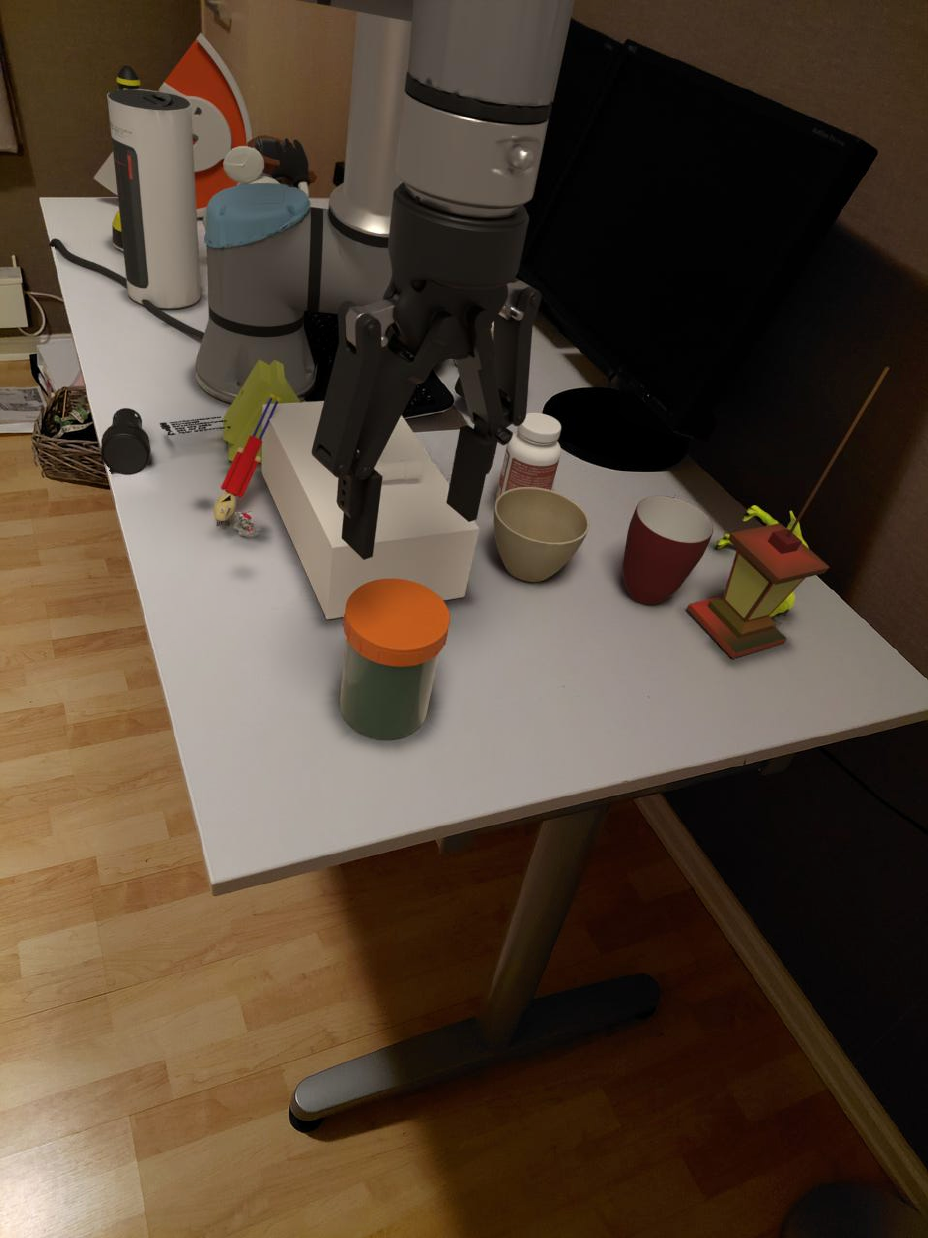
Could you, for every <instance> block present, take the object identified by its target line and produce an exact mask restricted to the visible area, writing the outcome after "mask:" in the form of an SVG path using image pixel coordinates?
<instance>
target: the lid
mask: <svg viewBox="0 0 928 1238" xmlns="http://www.w3.org/2000/svg"><path fill="white" fill-rule="evenodd" d="M342 618H343V619H342V628H343V632H344V636H345V639H346V638H347V641H348V642H349V644H350V645H351V646H352V647H353V648H354V649H355V650H356V651H357V652H358V653H359V654H361V655H362V656H364V657H365V658H367V659H369V660H371V661H374V662H376V663H379V664H383V665H387V666H395V667H406V666H414V665H419V664H422V663H424V662H427V661H429V660H430V659H432V658H433V657H436V655H437V654H438V653H439V654H440V652H442V650H443V648H444V646H446V644H447V640H448V635H449V634H448V632H449V628H450V623H451V615H450V611H449V609H448V606H447V604H446V603H445V600H442V599H441V598H440V597H439V596H438V595H437V594H436V593H435V592H434V591H432V590H431V589H429V588H427V587H425V586H423V585H421V584H419V583H416V582H413V581H408V580H403V579H393V578H392V579H379V580H375V581H371V582H368V583H366V584H364V585H362V586H360V587H358V588H357V589H356V590H355V591H354V592H353V593H352V594H351V595H350V597H349V598H348V600H347V603H346V607H345V614H344V617H342Z"/></svg>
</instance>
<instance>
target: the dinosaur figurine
mask: <svg viewBox="0 0 928 1238" xmlns="http://www.w3.org/2000/svg"><path fill="white" fill-rule="evenodd" d="M753 517H758V518H759V519H761V521H762V522H763V524H765V526H768V525H773V524H778V523H779V521H778V520H776V519H774V518H773V517H772V516H771V515H770V514H769V513H768V512H765V511H764V510H763V509H761V508H760V507H759V506H758V505H752V506H750V507H749V508H746V512H745V513H744V514H743V516H742V519H741V520H742V521H743V522H747V521H749V520H750V519H752V518H753ZM789 519H790V522H789V523H788V524H787V527H785V528H786V529H789V530H790V529H791V528H792V526H793V524H794V523H795V521H796V519H797V517H795V515H794V513H793V511H792V510H789ZM800 525H801V524H800V521H799V522H798V523H797V525H796V527H795V529H794V530H793V532H792V533H793V534H795V535H796V536H797V537H798V538H799V539H800V540H801V541H802V543H803V544H804V545H805V546H806V547H808V548H809V546H808V543H807V542H806V541H805V540H804V538H803V536H802V530H801V526H800ZM729 536H730V533H727V532H725V533H724V534H723V538H720V539H719V540H717V541H716V547H717V550H720V549H723V548H724V547H725V546H726V545H733V544H732V543H731V542H730V541H729V540H728V539H729ZM795 600H796V595H795V592H794V591H793V592H792V593H791V594H790V595H789V596H788V597H787V598H786V599H785V600H784V601H783V602H782V603H781V604H780V605H779V606H778V607H777V608H776V609H775V610H774V611H773V613H772V614H771V615H770V616H769V617H770V618H772V617H774V616H776V615H777V614H783V613H785V612H786V611H788V610H791V609H792V608H793V607H794V604H795Z"/></svg>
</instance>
